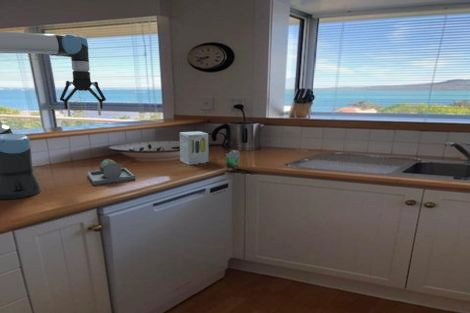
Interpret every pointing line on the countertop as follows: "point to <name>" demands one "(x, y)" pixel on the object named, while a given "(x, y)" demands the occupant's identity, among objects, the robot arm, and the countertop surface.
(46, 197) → the countertop surface
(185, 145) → the supplement box
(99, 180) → the tray
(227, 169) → the food container
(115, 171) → the canned tomato
